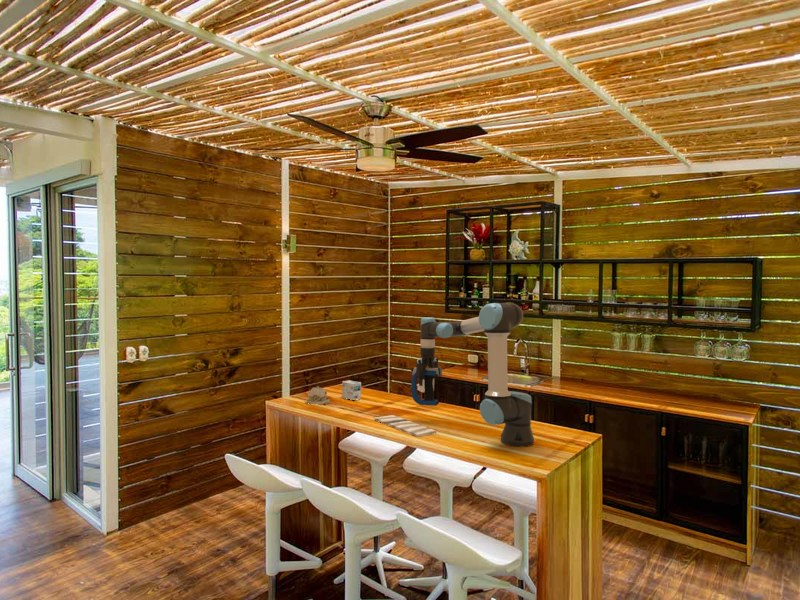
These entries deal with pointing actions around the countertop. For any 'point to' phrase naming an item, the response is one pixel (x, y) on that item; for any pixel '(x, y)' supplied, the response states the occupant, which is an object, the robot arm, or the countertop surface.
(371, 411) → the countertop surface
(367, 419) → the countertop surface
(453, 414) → the countertop surface
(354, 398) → the light bulb box
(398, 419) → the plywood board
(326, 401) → the ceramic model
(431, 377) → the handheld scanner
